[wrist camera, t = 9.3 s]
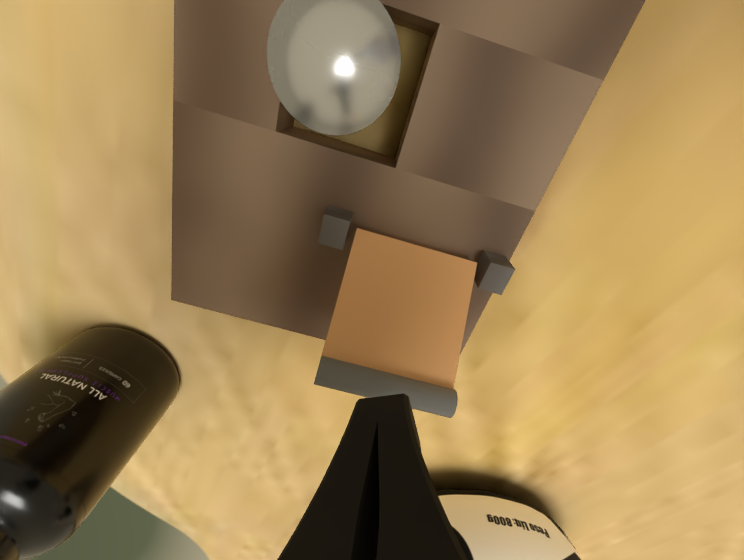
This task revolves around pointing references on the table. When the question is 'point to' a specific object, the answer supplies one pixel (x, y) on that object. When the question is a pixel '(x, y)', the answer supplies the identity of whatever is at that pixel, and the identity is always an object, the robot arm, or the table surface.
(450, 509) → the milk container
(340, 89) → the steel pin
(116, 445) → the supplement bottle
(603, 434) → the table surface
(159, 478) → the table surface
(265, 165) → the brown board with hole
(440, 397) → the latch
